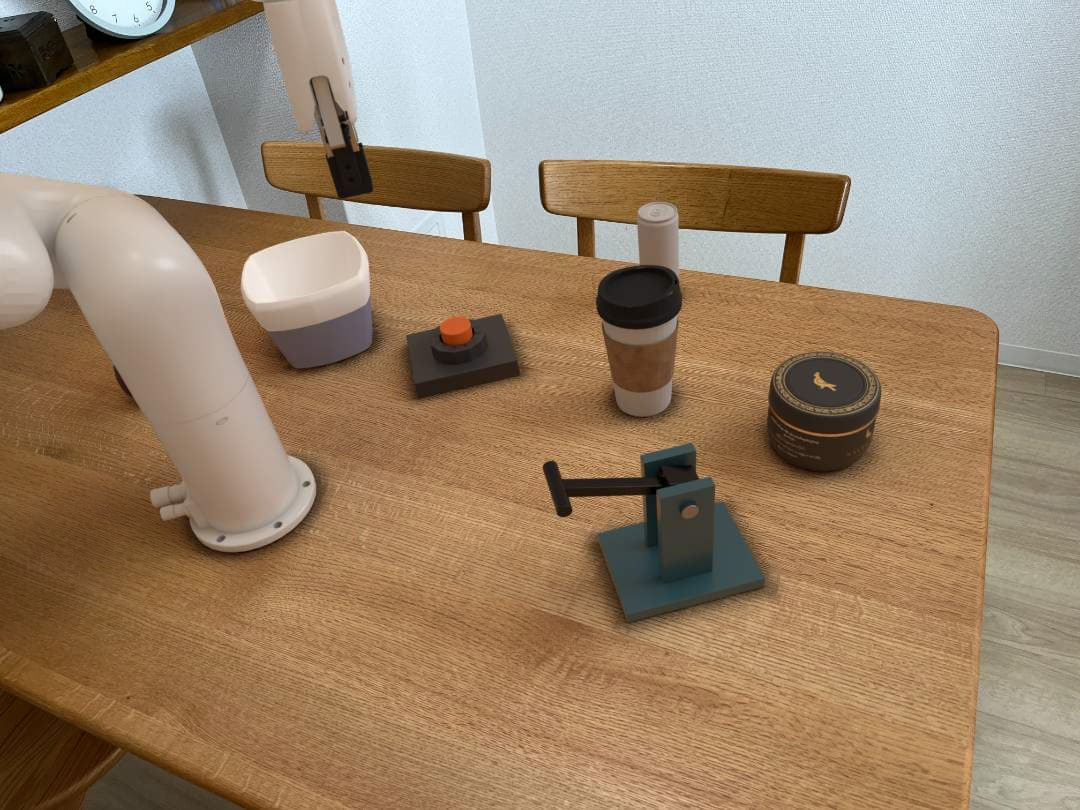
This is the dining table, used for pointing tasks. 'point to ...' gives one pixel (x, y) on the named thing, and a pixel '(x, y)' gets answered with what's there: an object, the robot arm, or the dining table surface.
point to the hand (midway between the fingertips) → (356, 191)
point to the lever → (611, 484)
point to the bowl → (312, 297)
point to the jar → (822, 410)
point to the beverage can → (658, 235)
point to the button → (456, 331)
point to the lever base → (678, 546)
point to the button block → (462, 358)
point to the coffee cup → (640, 335)
